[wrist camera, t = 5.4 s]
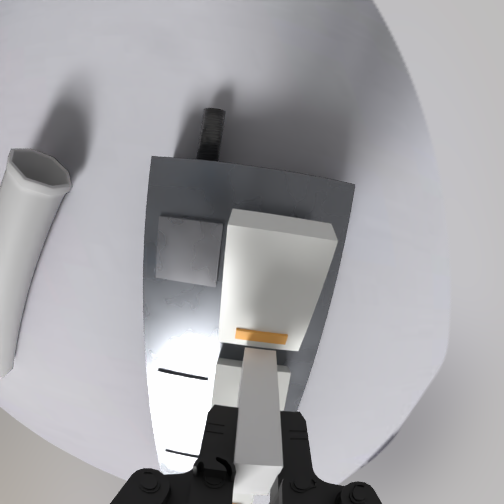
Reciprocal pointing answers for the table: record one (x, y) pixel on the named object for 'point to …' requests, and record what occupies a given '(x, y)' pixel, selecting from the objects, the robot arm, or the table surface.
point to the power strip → (214, 279)
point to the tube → (24, 234)
